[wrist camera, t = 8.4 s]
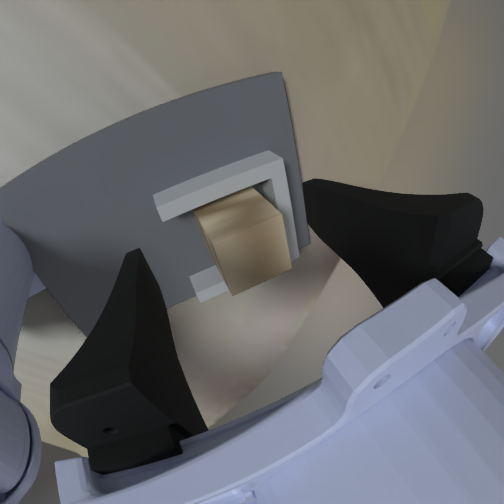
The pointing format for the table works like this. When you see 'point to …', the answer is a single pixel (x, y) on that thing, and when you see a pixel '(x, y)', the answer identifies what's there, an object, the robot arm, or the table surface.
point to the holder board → (155, 194)
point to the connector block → (244, 238)
